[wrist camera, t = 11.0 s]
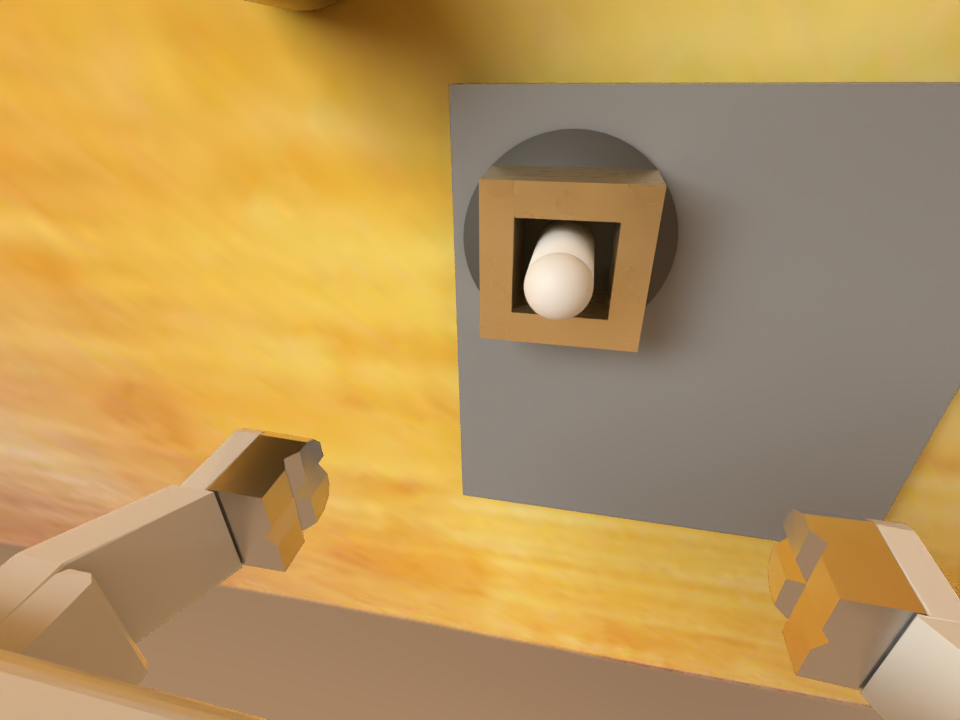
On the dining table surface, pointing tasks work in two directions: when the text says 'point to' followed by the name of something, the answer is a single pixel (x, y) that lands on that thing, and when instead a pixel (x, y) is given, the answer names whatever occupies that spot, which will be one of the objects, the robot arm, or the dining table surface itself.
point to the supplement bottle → (296, 4)
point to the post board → (721, 300)
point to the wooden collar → (568, 197)
